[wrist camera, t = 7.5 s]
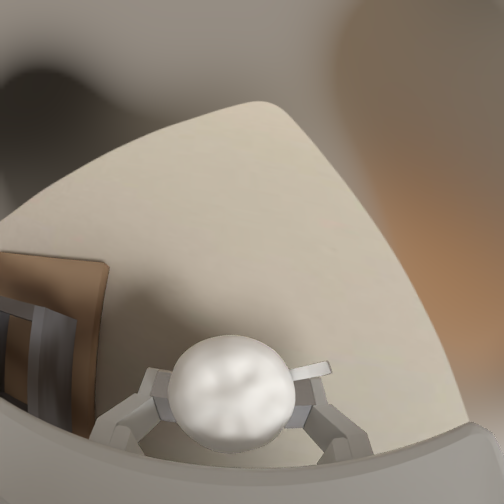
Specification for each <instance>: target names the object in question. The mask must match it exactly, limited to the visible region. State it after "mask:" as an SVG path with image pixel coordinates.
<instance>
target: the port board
mask: <svg viewBox="0 0 504 504" xmlns="http://www.w3.org/2000/svg"><path fill="white" fill-rule="evenodd" d="M109 268H110V267H109V266H108V265H106V264H105V263H103V262H92V261H81V260H70V259H60V258H50V257H40V256H31V255H22V254H13V253H4V252H0V397H1V398H3V399H5V400H6V401H8V402H10V403H11V404H13V405H15V406H16V407H18V408H20V409H22V410H24V411H25V412H27V413H29V414H31V415H33V416H35V417H37V418H39V419H41V420H43V421H45V422H47V423H49V424H52V425H54V426H56V427H58V428H61V429H63V430H65V431H68V432H70V433H73V434H75V435H78V436H81V437H83V438H86V439H89V437H90V435H91V432H92V430H93V427H94V425H95V374H96V359H97V347H98V338H99V329H100V321H101V314H102V307H103V301H104V295H105V289H106V283H107V278H108V273H109Z"/></svg>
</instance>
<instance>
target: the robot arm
mask: <svg viewBox="0 0 504 504" xmlns="http://www.w3.org/2000/svg"><path fill="white" fill-rule="evenodd" d="M172 372H173V371H169V370H163V369H157V368H151V367H148V368H147V370H146V372H145V375H144V377H143V380H142V383H141V385H140V388H139V391H138V393H137V394H136V393H134V394H133V395H131V396H130V397H128V398H127V399H125V400H124V401H122V402H121V403H119V404H118V405H116V406H115V407H113V408H112V409H110V410H109V411H107V412H106V413H104V414H103V415H101V416H100V417H98V418H97V420H96V423H95V425H94V427H93V430H92V432H91V435H90V437H89V439H86V438H83V437H81V436H78V435H75V434H73V433H70V432H68V431H65V430H63V429H61V428H58V427H56V426H54V425H52V424H49V423H47V422H45V421H43V420H41V419H39V418H37V417H35V416H33V415H31V414H29V413H27V412H25V411H24V410H22V409H20V408H18V407H16V406H15V405H13V404H11V403H10V402H8V401H6V400H5V399H3V398H1V397H0V504H504V455H503V453H502V450H501V448H500V446H499V444H498V442H497V440H496V438H495V436H494V435H493V434H492V432H491V431H489V430H488V429H486V428H484V427H482V426H480V425H479V424H476V423H474V422H468V423H465V424H463V425H461V426H458V427H456V428H454V429H452V430H449V431H447V432H444V433H442V434H439V435H437V436H434V437H432V438H429V439H426V440H423V441H420V442H417V443H414V444H411V445H408V446H405V447H402V448H398V449H395V450H391V451H387V452H384V453H380V454H376V455H374V454H373V451H372V448H371V444H370V441H369V438H368V435H367V433H366V432H365V431H364V430H362V429H361V428H360V427H359V426H357V425H356V424H355V423H354V422H352V421H351V420H350V419H349V418H348V417H346V416H345V415H344V414H343V413H341V412H340V411H339V410H338V409H337V408H335V407H334V406H333V405H332V404H328V401H327V397H326V394H325V390H324V387H323V383H322V380H321V378H320V377H313V378H308V379H302V380H296V381H293V382H294V387H295V406H294V410H293V413H292V415H291V417H290V419H289V421H288V422H287V424H286V425H285V427H284V428H303V429H304V430H305V431H306V433H307V434H308V435H309V436H310V437H311V438H312V439H313V440H314V442H315V443H316V444H317V445H318V446H319V447H320V448H321V449H322V451H323V452H324V454H323V455H322V457H321V458H320V460H319V461H318V462H317V465H310V466H299V467H284V468H232V467H217V466H205V465H196V464H189V463H181V462H175V461H169V460H164V459H158V458H153V457H149V456H144V453H143V451H142V450H141V448H140V446H139V444H138V442H139V441H140V440H141V439H142V438H143V437H144V436H145V435H146V434H147V433H149V432H150V431H151V430H152V429H153V428H154V427H155V426H156V425H157V424H158V423H159V422H160V420H163V421H170V422H177V421H176V420H175V418H174V416H173V413H172V411H171V408H170V404H169V400H168V386H169V381H170V378H171V375H172Z"/></svg>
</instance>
